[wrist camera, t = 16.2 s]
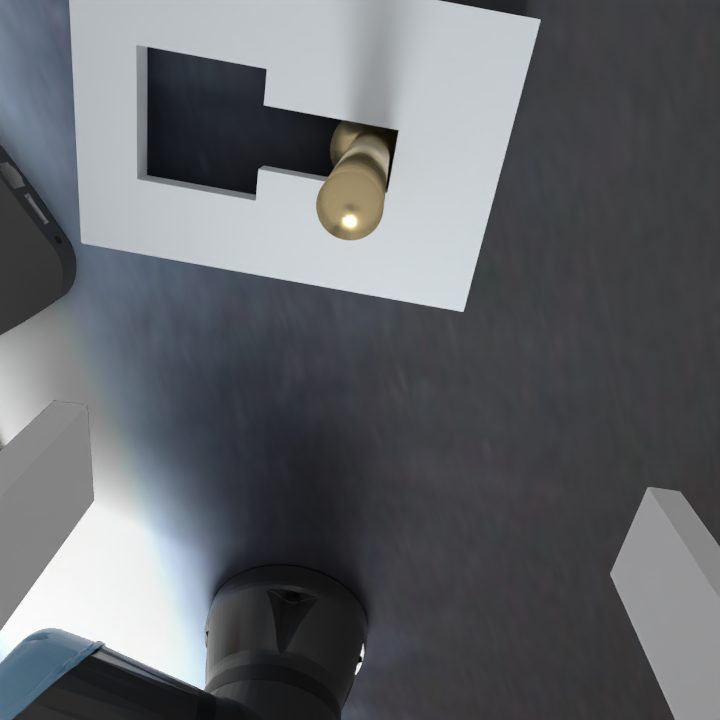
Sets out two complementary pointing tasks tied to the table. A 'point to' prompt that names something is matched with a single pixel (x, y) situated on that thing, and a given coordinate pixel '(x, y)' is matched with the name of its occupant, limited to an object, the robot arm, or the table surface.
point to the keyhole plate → (318, 97)
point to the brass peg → (356, 180)
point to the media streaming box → (29, 250)
